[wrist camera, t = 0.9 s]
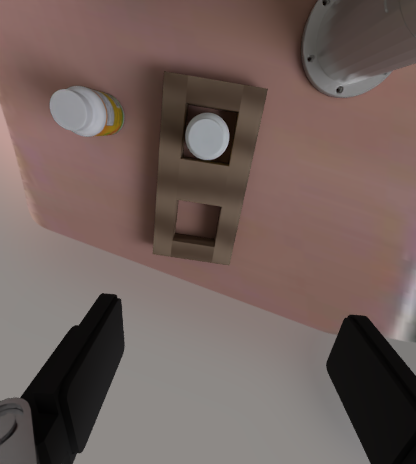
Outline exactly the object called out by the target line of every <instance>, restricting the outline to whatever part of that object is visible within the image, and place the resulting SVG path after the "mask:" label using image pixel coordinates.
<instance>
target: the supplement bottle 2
mask: <svg viewBox="0 0 416 464" xmlns="http://www.w3.org/2000/svg"><path fill="white" fill-rule="evenodd" d="M185 139H186V144H187V147H188V149H189V150H190V152H191V153H192V154H193V155H194V156H196V157H197V158H199V159H203V160H212V159H215V158H217V157H219V156H220V155H221V154H222V153H223V152H224V151H225V150H226V148H227V146H228V143H229V130H228V127H227V125H226V123H225V121H224V120H223V119H222V118H221V117H219V116H218V115H216V114H214V113H201V114H199V115H197V116H195V117H194V118H193V119H192V120H191V121H190V122H189V124H188V126H187V129H186V134H185Z"/></svg>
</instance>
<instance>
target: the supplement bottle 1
mask: <svg viewBox="0 0 416 464" xmlns="http://www.w3.org/2000/svg"><path fill="white" fill-rule="evenodd" d="M50 111H51V114H52V116H53V118H54V120H55V121H56V122H57V123H58V124H59V125H60V126H61V127H63V128H65V129H67V130H71V131H72V132H74V133H76V134H78V135H81V136H86V137H91V136H104V135H113V134H115V133H117V132H118V131H120V129H121V128H122V126H123V124H124V111H123V108H122V106H121V105H120V103H119V102H118V100H117V99H115V98H114V97H113V96H111V95H109V94H107V93H104V92H100V91H97V90H93V89H90V88H87V87H83V86H72V87H69V88H67V89H61V90H58V91H56V92H55V93H54V94H53V95H52V97H51V99H50Z"/></svg>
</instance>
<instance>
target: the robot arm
mask: <svg viewBox="0 0 416 464" xmlns="http://www.w3.org/2000/svg"><path fill="white" fill-rule="evenodd" d="M322 2H324V3H325V6H324V5H323V3H322ZM301 58H302V64H303V68H304V71H305V73H306V75H307V78H308V80H309V81H310V82H311V83H312V85H313V86H314V87H315V88H316V89H317V90H319V91H320V92H321V93H323V94H325V95H327V96H331V97H335V98H348V97H353V96H357V95H360V94H363V93H365V92H367V91H369V90H371V89H373V88H374V87H376V86H377V85H378V84H380V83H381V82H382V81H383V80H384V79H386V78H387V77H388V76H389V75H390V73H391V72H392V71H393V70H396V69H400V68H403V67H406V66H409V65H412V64H415V63H416V0H318V1H317V2H316V4H315V6H314V7H313V9H312V11H311V12H310V14H309V17H308V19H307V22H306V24H305V28H304V32H303V36H302V43H301ZM307 58H310V62H308V60H307ZM336 89H338V92H336ZM123 352H124V331H123V318H122V304H121V299H119V298H117V295H115V294H104V293H102V294H101V295H100V296H99V297H98V299H97V300H96V302H95V303H94V304H93V306H92V307H91V309H90V310H89V311H88V313H87V314H86V316H85V317H84V319H83V320H82V322H81V323H80V324H79V326H78V325H75V326H73V327H72V328H71V329H70V330H69V331H68V333H67V334H66V335H65V337H64V338H63V340H62V341H61V342H60V344H59V345H58V346H57V348H56V349H55V351H54V352H53V354H52V355H51V356H50V358H49V359H48V361H47V362H46V363H45V364H44V366H43V367H42V368H41V370H40V371H39V373H38V374H37V376H36V377H35V378H34V380H33V381H32V382H31V384H30V385H29V386H28V388H27V389H26V390H25V392H24V393H23V395H22V396H21V398H8V399H5V400H2V401H0V464H73V461H74V459H75V457H76V454H77V453H81V452H82V451H83V449H84V448H85V446H86V443H87V441H88V438H89V436H90V433H91V431H92V428H93V426H94V424H95V421H96V419H97V416H98V414H99V411H100V409H101V406H102V404H103V402H104V399H105V397H106V394H107V392H108V389H109V387H110V385H111V382H112V380H113V377H114V375H115V372H116V370H117V368H118V365H119V363H120V360H121V358H122V355H123ZM326 366H327V371H328V374H329V376H330V378H331V380H332V382H333V384H334V386H335V389H336V391H337V393H338V395H339V397H340V399H341V401H342V403H343V406H344V408H345V410H346V412H347V414H348V416H349V418H350V420H351V423H352V425H353V427H354V429H355V431H356V433H357V435H358V437H359V439H360V442H361V443H362V446H363V448H364V450H365V452H366V454H367V457H368V459H369V461H370V463H371V464H416V376H415V375H414V373H413V372H412V371H411V370H410V368H409V367H408V366H407V365H406V363H405V362H404V361H403V360H402V359H401V358H400V356H399V355H398V354H397V352H396V351H395V350H394V349H393V348H392V346H391V345H390V344H389V343H388V342H387V340H386V339H385V338H384V337H383V335H382V334H381V333H380V332H379V331H378V329H377V328H376V327H375V326H374V325H373V323H372V322H371V321H370V320H369V318H367V317H366V316H361V315H349V316H348V317H347V318H345V319H344V320H343V323H342V325H341V328H340V330H339V333H338V335H337V338H336V340H335V343H334V345H333V348H332V350H331V353H330V355H329V358H328V360H327V364H326Z"/></svg>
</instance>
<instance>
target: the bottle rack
mask: <svg viewBox="0 0 416 464" xmlns="http://www.w3.org/2000/svg"><path fill="white" fill-rule="evenodd" d="M267 90H268V89H266V88H260V87H254V86H248V85H242V84H236V83H231V82H225V81H219V80H213V79H207V78H201V77H195V76H189V75H183V74H178V73H172V72H166V71H164V81H163V97H162V113H161V129H160V145H159V161H158V177H157V194H156V210H155V226H154V242H153V254H156V255H163V256H170V257H176V258H183V259H190V260H196V261H203V262H210V263H217V264H223V265H229V264H230V260H231V255H232V251H233V246H234V241H235V237H236V232H237V228H238V223H239V219H240V214H241V209H242V205H243V200H244V196H245V191H246V187H247V182H248V177H249V173H250V168H251V164H252V159H253V155H254V150H255V145H256V141H257V136H258V132H259V127H260V122H261V118H262V113H263V109H264V104H265V100H266V95H267ZM188 105H193V106H199V107H205V108H211V109H217V110H223V111H229V112H235V113H237V118H236V124H235V129H234V135H233V141H232V146H231V152H230V157H229V163H222V162H216V161H209V160H203V159H197V158H191V157H185V156H183V151H184V141H185V131H186V122H187V112H188ZM178 200H182V201H189V202H195V203H201V204H208V205H214V206H221V207H220V213H219V219H218V224H217V230H216V235H215V239H210V238H203V237H197V236H190V235H183V234H177V233H175V229H176V220H177V210H178Z"/></svg>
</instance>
